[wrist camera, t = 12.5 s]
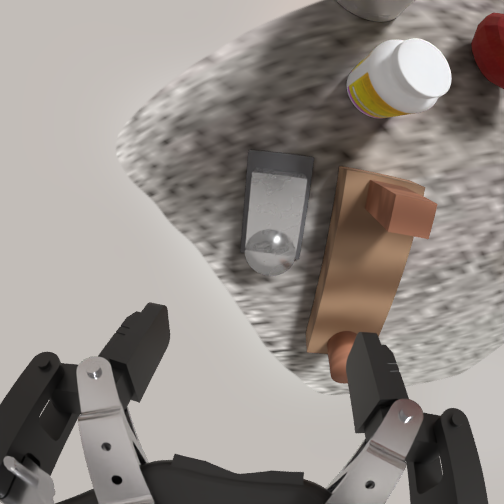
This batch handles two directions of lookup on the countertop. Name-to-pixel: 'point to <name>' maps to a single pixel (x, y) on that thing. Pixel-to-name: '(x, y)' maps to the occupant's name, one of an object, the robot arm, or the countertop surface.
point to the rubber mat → (283, 164)
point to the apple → (490, 48)
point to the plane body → (364, 259)
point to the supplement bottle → (399, 79)
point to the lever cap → (274, 220)
